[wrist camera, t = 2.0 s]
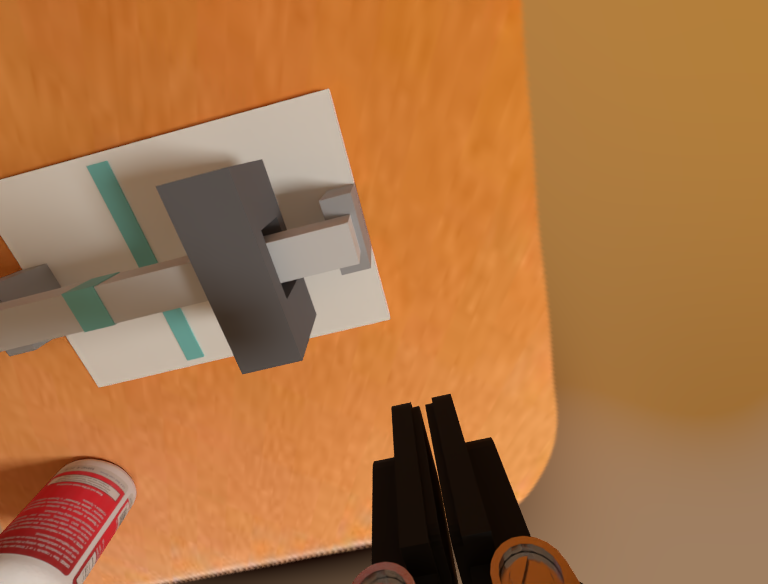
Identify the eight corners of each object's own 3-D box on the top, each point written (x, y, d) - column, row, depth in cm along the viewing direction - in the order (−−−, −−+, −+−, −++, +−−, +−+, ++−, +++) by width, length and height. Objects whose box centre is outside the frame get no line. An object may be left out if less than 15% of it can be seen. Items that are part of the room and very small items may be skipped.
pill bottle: (47, 458, 30) (-119, 624, 20) (125, 452, 30) (-2, 614, 20) (77, 513, 33) (-58, 687, 22) (149, 508, 33) (47, 679, 22)
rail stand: (-17, 186, 22) (-162, 205, 16) (329, 90, 21) (312, 72, 15) (106, 380, 28) (31, 449, 22) (389, 314, 26) (395, 368, 20)
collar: (206, 173, 20) (155, 186, 15) (262, 159, 19) (228, 166, 15) (268, 326, 23) (242, 374, 18) (316, 314, 23) (302, 360, 18)
